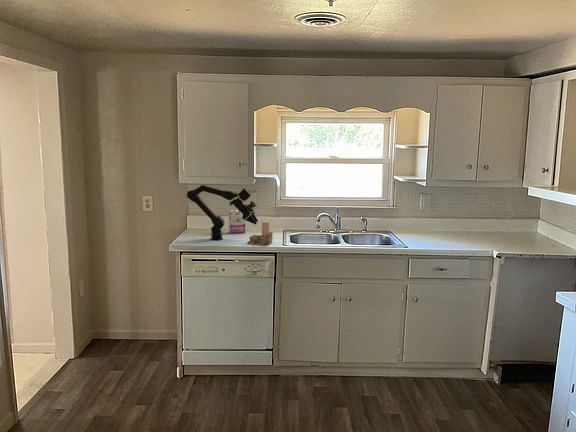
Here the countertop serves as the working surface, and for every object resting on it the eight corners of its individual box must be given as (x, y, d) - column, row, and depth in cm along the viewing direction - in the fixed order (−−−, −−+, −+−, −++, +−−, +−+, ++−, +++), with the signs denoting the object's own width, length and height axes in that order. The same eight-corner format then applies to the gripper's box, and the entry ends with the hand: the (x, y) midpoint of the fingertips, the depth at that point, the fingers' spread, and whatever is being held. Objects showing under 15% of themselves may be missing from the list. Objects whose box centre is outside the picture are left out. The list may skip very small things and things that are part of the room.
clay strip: (261, 241, 315) (261, 221, 313) (261, 240, 317) (262, 221, 315) (269, 241, 315) (269, 222, 313) (269, 240, 317) (269, 221, 315)
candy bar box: (243, 232, 345) (243, 209, 343) (245, 233, 341) (245, 210, 338) (228, 232, 341) (228, 210, 338) (230, 234, 336) (230, 211, 334)
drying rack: (247, 243, 307) (247, 232, 306) (252, 241, 314) (252, 230, 313) (268, 245, 303) (268, 233, 302) (272, 242, 310) (272, 231, 309)
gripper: (247, 199, 303) (264, 216, 304) (250, 195, 321) (267, 212, 323) (235, 211, 304) (252, 228, 306) (239, 207, 323) (255, 223, 324)
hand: (257, 222), depth 314 cm, fingers open, 9 cm apart
